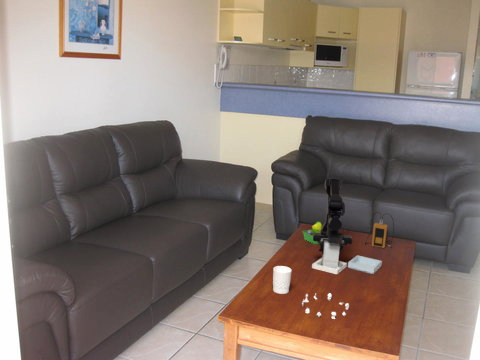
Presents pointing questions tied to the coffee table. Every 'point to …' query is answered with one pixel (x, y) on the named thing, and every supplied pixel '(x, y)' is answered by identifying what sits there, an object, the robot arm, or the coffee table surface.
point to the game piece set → (328, 299)
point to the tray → (364, 264)
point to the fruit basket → (309, 233)
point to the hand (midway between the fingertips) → (330, 254)
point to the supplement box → (330, 255)
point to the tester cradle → (331, 270)
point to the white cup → (281, 279)
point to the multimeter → (380, 233)
